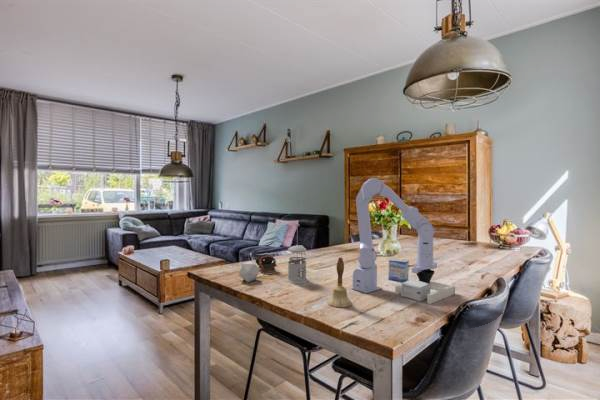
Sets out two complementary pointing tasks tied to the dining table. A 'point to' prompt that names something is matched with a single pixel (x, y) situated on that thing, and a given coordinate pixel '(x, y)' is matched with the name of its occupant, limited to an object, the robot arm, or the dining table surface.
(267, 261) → the pottery mug
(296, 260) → the french press
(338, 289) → the hand bell
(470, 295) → the dining table surface
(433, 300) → the u-shaped frame
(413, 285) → the small box
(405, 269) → the medicine box
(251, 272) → the die
